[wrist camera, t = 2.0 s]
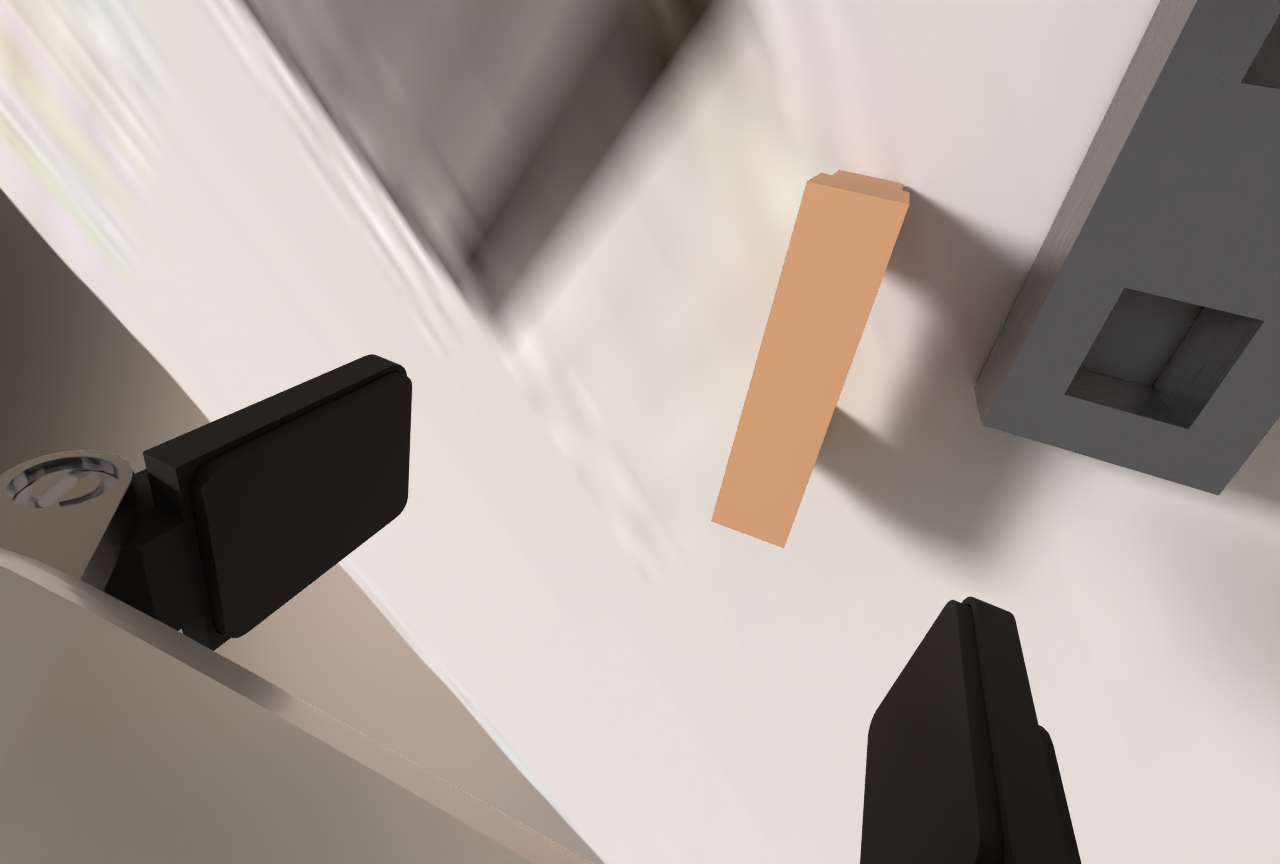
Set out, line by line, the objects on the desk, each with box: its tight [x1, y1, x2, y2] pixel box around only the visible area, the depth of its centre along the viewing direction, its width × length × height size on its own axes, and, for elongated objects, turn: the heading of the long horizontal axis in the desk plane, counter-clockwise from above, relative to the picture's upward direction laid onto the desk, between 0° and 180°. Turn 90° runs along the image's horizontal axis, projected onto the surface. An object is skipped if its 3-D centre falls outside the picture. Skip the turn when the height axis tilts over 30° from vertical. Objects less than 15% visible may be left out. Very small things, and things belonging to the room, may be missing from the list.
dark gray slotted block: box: [974, 0, 1280, 495], centre depth 20 cm, size 8×18×4 cm, turn 169°
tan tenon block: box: [712, 170, 910, 548], centre depth 25 cm, size 3×13×8 cm, turn 169°
